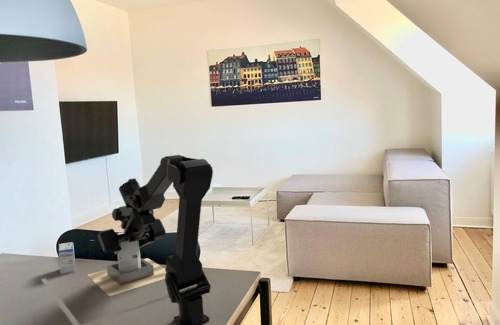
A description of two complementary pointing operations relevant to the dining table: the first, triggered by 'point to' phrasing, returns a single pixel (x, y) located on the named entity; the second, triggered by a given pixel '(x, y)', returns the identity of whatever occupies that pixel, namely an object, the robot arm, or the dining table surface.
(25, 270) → the dining table surface
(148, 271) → the sleeve
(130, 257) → the skincare box
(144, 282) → the board
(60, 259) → the medicine box
